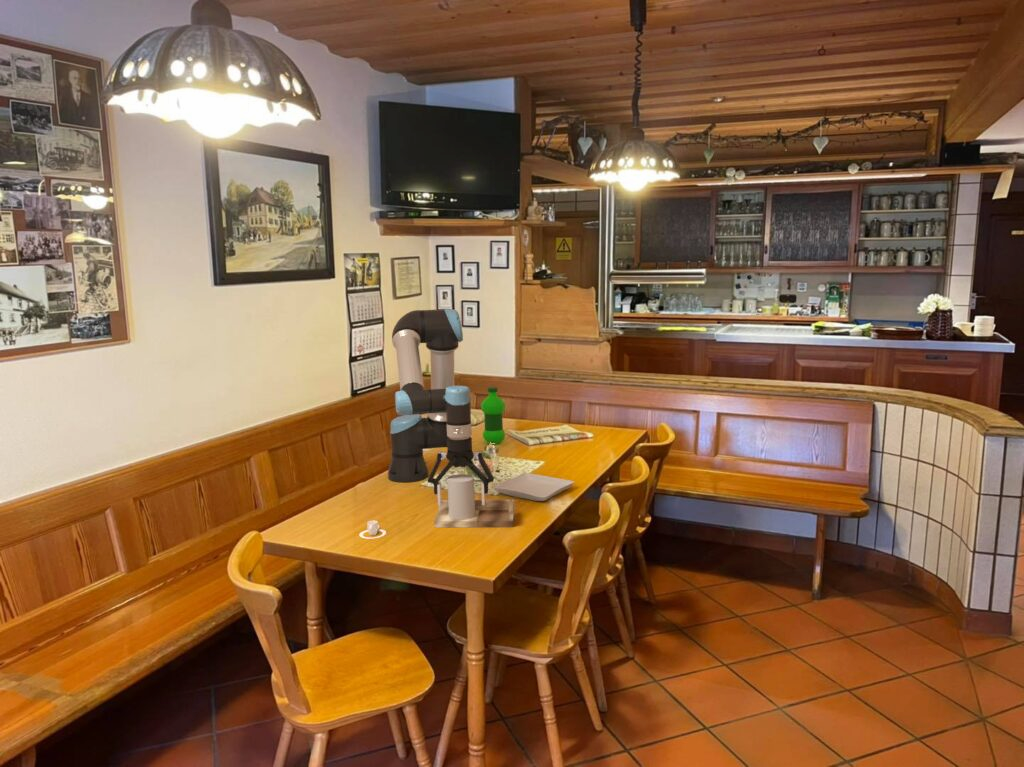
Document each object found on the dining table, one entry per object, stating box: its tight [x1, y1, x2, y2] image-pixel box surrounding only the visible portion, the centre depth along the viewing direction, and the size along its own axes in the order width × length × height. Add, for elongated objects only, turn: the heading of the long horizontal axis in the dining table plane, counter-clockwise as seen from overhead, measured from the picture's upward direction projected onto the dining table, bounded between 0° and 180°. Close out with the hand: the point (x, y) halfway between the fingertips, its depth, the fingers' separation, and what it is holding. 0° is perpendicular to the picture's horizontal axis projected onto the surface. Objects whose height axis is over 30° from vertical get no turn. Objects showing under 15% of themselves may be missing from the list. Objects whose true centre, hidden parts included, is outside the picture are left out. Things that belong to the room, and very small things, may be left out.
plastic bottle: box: [480, 386, 506, 445], centre depth 326 cm, size 10×10×25 cm
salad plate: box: [493, 472, 575, 502], centre depth 257 cm, size 21×21×3 cm
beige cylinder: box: [447, 473, 476, 520], centre depth 228 cm, size 8×8×12 cm
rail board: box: [433, 499, 516, 529], centre depth 229 cm, size 24×11×5 cm, turn 87°
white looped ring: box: [358, 520, 387, 540], centre depth 221 cm, size 9×8×4 cm
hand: (461, 504), depth 229 cm, fingers open, 13 cm apart
